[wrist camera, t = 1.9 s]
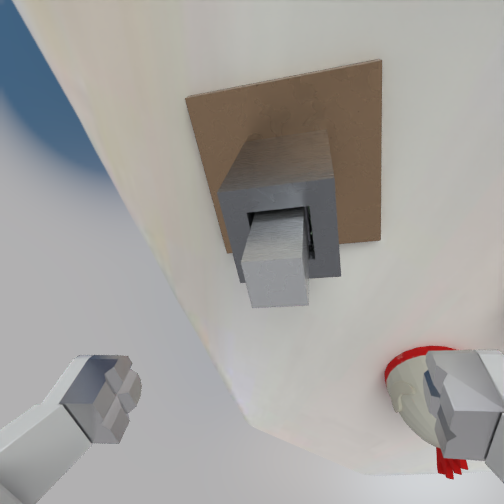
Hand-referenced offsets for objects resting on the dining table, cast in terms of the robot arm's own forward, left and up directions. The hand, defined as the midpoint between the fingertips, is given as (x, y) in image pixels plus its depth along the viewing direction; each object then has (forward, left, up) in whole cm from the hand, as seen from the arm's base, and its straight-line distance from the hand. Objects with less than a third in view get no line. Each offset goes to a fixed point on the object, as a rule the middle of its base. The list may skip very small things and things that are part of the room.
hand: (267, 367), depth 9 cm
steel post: (+2, +7, -32) cm, 33 cm away
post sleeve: (+2, +7, -34) cm, 35 cm away
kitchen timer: (-16, +45, -34) cm, 58 cm away
